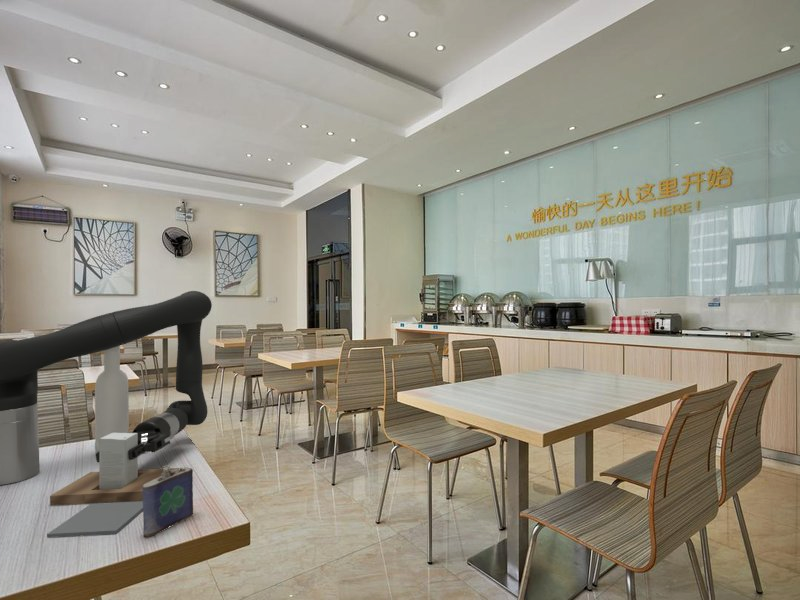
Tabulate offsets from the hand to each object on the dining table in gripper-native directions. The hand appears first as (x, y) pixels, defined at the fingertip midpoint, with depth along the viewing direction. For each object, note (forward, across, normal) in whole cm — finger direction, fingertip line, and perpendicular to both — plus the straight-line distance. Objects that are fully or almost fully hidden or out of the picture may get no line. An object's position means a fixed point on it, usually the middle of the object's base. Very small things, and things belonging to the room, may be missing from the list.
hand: (114, 456), depth 91 cm
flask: (+14, +18, +9) cm, 25 cm away
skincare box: (-2, -1, +8) cm, 8 cm away
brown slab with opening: (-2, -1, +8) cm, 8 cm away
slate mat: (+11, +4, +8) cm, 14 cm away
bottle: (-28, -19, +8) cm, 34 cm away
